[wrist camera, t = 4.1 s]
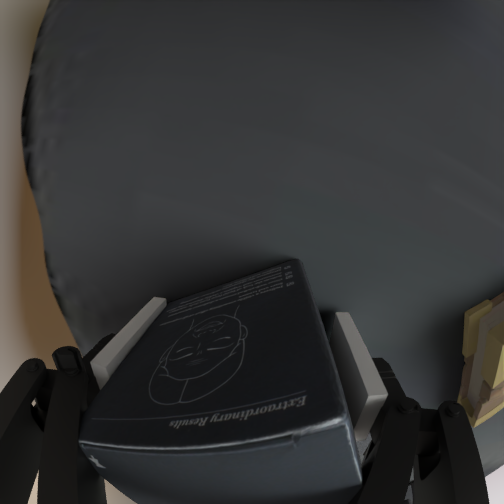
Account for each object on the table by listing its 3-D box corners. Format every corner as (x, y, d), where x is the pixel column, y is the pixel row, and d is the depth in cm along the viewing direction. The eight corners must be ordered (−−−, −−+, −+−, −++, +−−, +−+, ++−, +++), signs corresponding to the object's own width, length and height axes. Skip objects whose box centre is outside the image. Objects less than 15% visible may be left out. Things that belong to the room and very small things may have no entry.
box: (209, 375, 16) (159, 520, 6) (168, 300, 15) (56, 436, 5) (330, 342, 15) (371, 508, 5) (301, 254, 14) (351, 420, 4)
